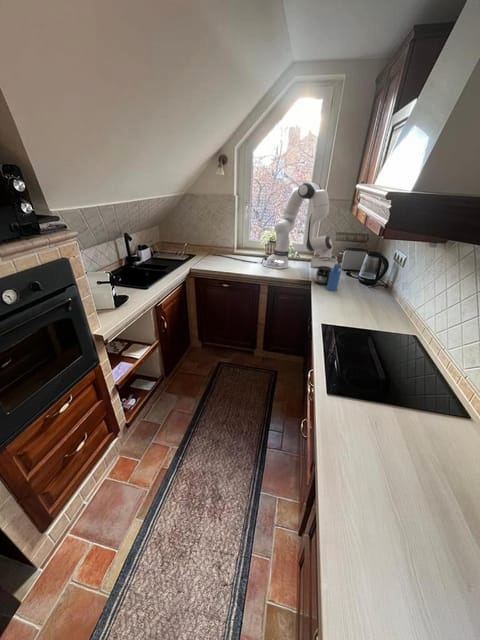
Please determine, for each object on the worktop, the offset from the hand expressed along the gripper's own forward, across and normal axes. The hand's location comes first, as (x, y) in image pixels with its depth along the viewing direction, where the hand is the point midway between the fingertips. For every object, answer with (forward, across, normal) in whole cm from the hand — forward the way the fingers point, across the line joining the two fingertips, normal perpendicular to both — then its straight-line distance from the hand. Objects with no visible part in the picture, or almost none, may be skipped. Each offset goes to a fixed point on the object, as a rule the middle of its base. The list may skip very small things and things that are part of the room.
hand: (322, 273), depth 195 cm
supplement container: (+8, 0, 0) cm, 8 cm away
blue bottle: (+15, +8, -7) cm, 18 cm away
